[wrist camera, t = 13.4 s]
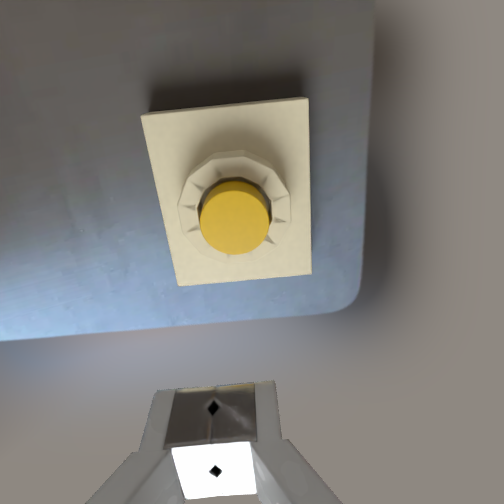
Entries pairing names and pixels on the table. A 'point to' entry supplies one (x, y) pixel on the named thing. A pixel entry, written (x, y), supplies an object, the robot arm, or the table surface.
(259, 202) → the yellow push button
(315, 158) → the table surface
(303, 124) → the housing
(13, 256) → the table surface
